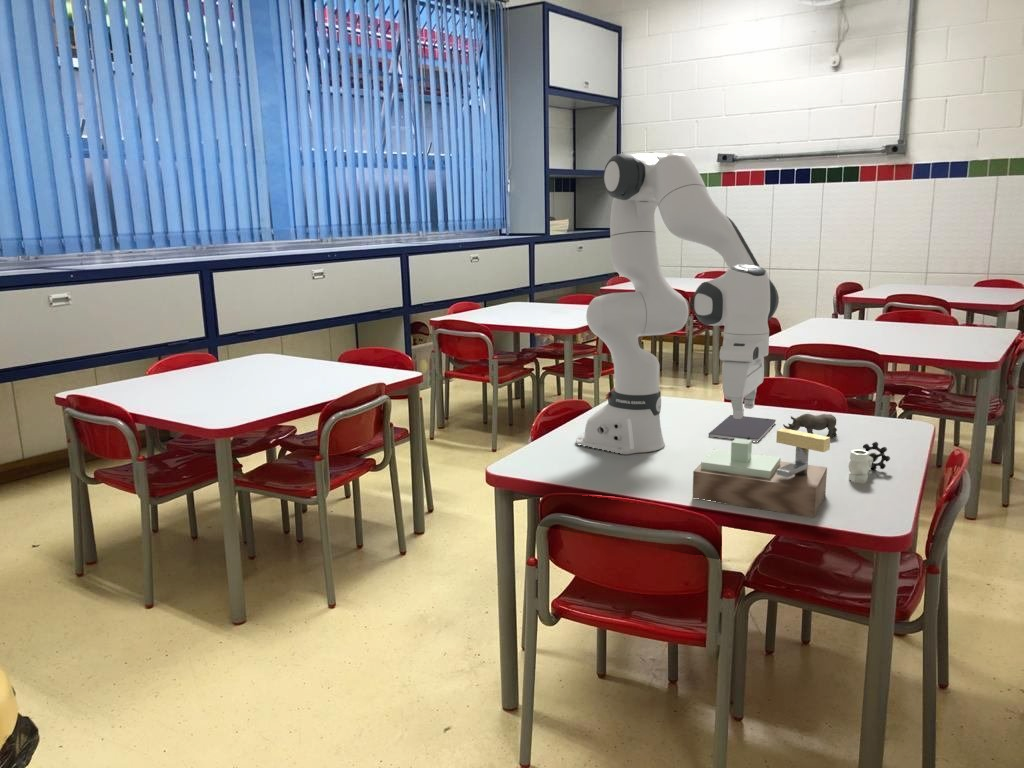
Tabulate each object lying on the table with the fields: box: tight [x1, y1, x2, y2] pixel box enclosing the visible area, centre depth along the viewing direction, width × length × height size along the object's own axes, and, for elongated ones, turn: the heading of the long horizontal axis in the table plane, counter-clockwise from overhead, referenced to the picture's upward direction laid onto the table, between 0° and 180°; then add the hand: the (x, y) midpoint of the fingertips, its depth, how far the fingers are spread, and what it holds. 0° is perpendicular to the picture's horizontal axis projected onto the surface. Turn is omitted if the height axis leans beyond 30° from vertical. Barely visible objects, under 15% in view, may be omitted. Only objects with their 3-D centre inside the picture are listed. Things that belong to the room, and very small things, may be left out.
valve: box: [848, 441, 891, 484], centre depth 178 cm, size 7×7×12 cm
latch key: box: [776, 427, 831, 477], centre depth 160 cm, size 9×10×8 cm
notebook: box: [708, 414, 777, 443], centre depth 217 cm, size 13×2×21 cm
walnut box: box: [692, 460, 828, 518], centre depth 167 cm, size 24×14×6 cm, turn 61°
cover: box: [700, 438, 781, 478], centre depth 168 cm, size 14×10×6 cm
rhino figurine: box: [782, 413, 838, 439], centre depth 210 cm, size 4×14×6 cm, turn 82°
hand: (743, 412), depth 166 cm, fingers open, 8 cm apart
